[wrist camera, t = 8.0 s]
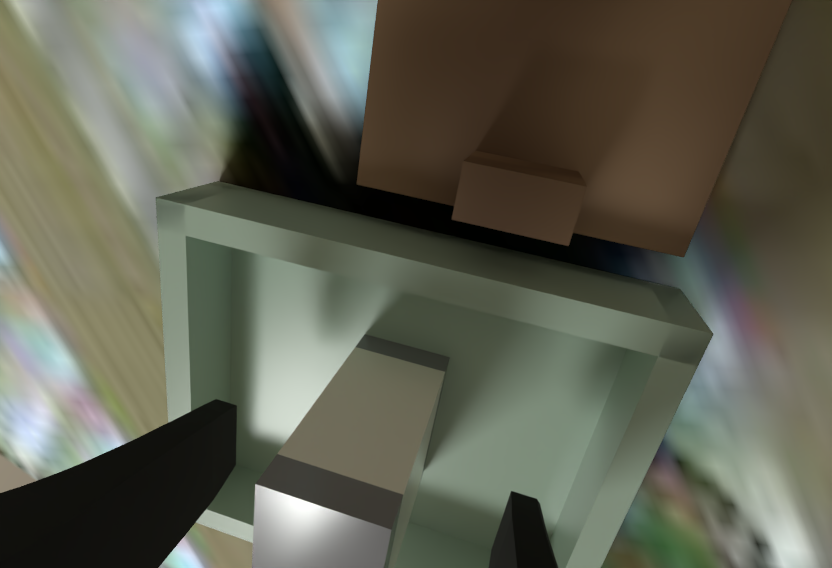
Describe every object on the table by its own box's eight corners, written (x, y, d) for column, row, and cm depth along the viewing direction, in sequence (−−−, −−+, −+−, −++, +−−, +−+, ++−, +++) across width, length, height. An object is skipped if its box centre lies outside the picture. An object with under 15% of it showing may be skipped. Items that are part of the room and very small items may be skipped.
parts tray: (680, 289, 12) (713, 333, 10) (556, 575, 16) (559, 652, 14) (217, 181, 14) (155, 197, 12) (218, 462, 18) (173, 514, 16)
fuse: (450, 357, 14) (391, 530, 8) (424, 471, 15) (361, 675, 10) (364, 334, 14) (255, 484, 9) (349, 447, 16) (249, 632, 10)
